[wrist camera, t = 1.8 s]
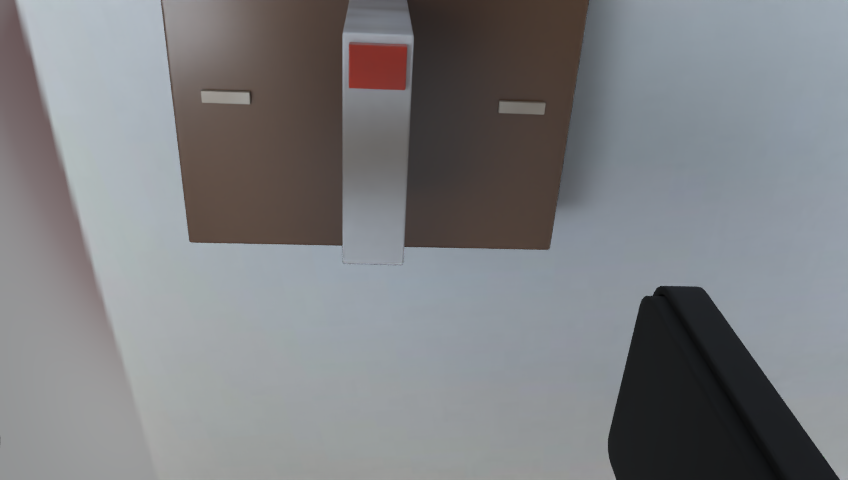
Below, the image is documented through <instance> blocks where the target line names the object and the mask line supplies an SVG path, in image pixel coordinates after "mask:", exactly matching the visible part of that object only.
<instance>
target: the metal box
mask: <svg viewBox="0 0 848 480" xmlns="http://www.w3.org/2000/svg"><path fill="white" fill-rule="evenodd" d="M413 47H414V35H413V30H412V24H411V19H410V14H409V8H408V3H407V0H349V4H348V9H347V14H346V19H345V24H344V29H343V34H342V173H343V264H374V265H403V261H404V239H405V218H406V197H407V175H408V154H409V132H410V111H411V90H412V68H413Z"/></svg>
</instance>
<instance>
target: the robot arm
mask: <svg viewBox="0 0 848 480" xmlns="http://www.w3.org/2000/svg"><path fill="white" fill-rule="evenodd" d="M608 453H609V459H610V463H611V466H612V468H613V471H614V474H615V477H616V480H840V479H839V478H838V476H837V475H836V474H835V472H834V471H833V469H832V468H831V467H830V465H829V464H828V462H827V461H826V460H825V458H824V457H823V455H822V454H821V453H820V451H819V450H818V448H817V447H816V446H815V444H814V443H813V441H812V440H811V439H810V437H809V436H808V434H807V433H806V432H805V430H804V429H803V427H802V426H801V425H800V423H799V422H798V420H797V419H796V418H795V416H794V415H793V413H792V412H791V410H790V409H789V408H788V406H787V405H786V403H785V402H784V401H783V399H782V398H781V396H780V395H779V394H778V392H777V391H776V389H775V388H774V387H773V385H772V384H771V382H770V381H769V380H768V378H767V377H766V375H765V374H764V373H763V371H762V370H761V368H760V367H759V366H758V364H757V363H756V361H755V360H754V359H753V357H752V356H751V354H750V353H749V352H748V350H747V349H746V347H745V346H744V345H743V343H742V342H741V340H740V339H739V338H738V336H737V335H736V333H735V332H734V331H733V329H732V328H731V326H730V325H729V324H728V322H727V321H726V319H725V318H724V316H723V315H722V314H721V312H720V311H719V309H718V308H717V307H716V305H715V304H714V302H713V301H712V300H711V298H710V297H709V295H708V294H707V293H706V291H705V290H704V289H703V288H701V287H685V286H660V287H658V288H657V289H656V290H655V292H654V294H653V296H645V297H644V298H643V299H642V301H641V304H640V307H639V311H638V315H637V320H636V324H635V328H634V332H633V336H632V340H631V345H630V349H629V353H628V357H627V361H626V366H625V370H624V374H623V378H622V382H621V386H620V391H619V395H618V399H617V403H616V407H615V411H614V416H613V420H612V424H611V428H610V432H609V438H608Z"/></svg>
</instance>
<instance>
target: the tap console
mask: <svg viewBox="0 0 848 480" xmlns="http://www.w3.org/2000/svg"><path fill="white" fill-rule="evenodd" d="M407 3H408V8H409V14H410V19H411V24H412V30H413V35H414V47H413V68H412V90H411V111H410V132H409V154H408V175H407V197H406V218H405V239H404V247H439V248H488V249H537V250H548V249H549V248H550V244H551V238H552V231H553V225H554V219H555V212H556V206H557V200H558V194H559V187H560V181H561V175H562V169H563V162H564V156H565V150H566V143H567V137H568V131H569V125H570V118H571V112H572V106H573V100H574V93H575V87H576V81H577V74H578V68H579V62H580V56H581V49H582V43H583V37H584V30H585V24H586V18H587V12H588V5H589V0H407ZM348 4H349V0H161V6H162V14H163V23H164V31H165V40H166V48H167V57H168V65H169V74H170V82H171V90H172V99H173V107H174V116H175V124H176V133H177V141H178V150H179V158H180V166H181V175H182V183H183V192H184V200H185V209H186V217H187V226H188V234H189V241H190V242H195V243H244V244H293V245H341V246H343V173H342V34H343V29H344V24H345V19H346V14H347V9H348Z"/></svg>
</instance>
